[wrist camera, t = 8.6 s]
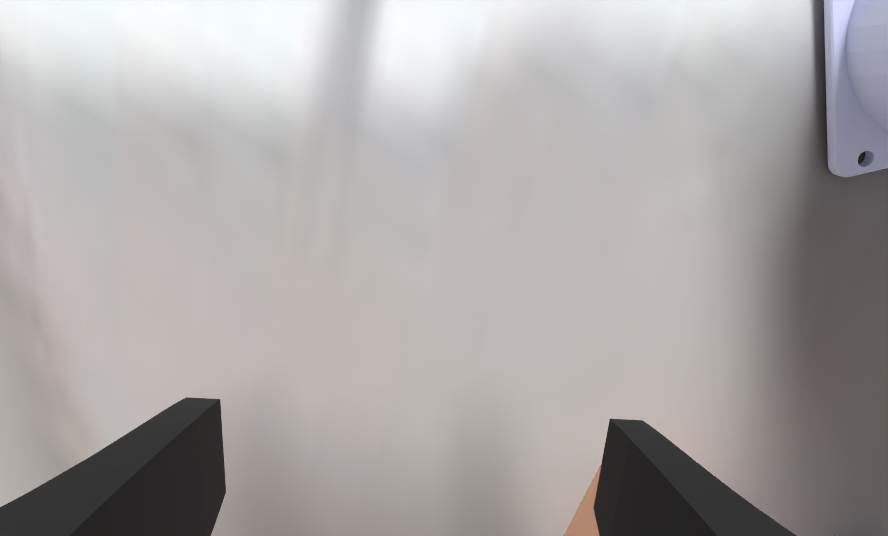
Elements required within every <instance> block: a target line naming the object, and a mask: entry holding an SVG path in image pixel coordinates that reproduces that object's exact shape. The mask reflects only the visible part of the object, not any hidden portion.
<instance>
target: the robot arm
mask: <svg viewBox="0 0 888 536" xmlns="http://www.w3.org/2000/svg"><path fill="white" fill-rule="evenodd" d="M824 25H825V65H826V105H827V145H828V167H829V170H830V171H831V172H832V173H833V174H835V175H837V176H841V177H852V176H856V175H860V174H865V173H869V172H873V171H877V170H882V169H886V168H888V0H824ZM864 151H865V154H866V156H865V159H864V161H863V162H862V163H860V164H858V157H859V155H860V154H861V153H862V152H864ZM225 493H226V487H225V471H224V455H223V439H222V422H221V406H220V399H204V398H185V399H183V400H181V401H179V402H177V403H176V404H174V405H172V406H171V407H169V408H167V409H166V410H164V411H162V412H161V413H159V414H158V415H156V416H154V417H153V418H151V419H150V420H148V421H147V422H145V423H143V424H142V425H140V426H139V427H137V428H136V429H134V430H133V431H131V432H129V433H128V434H126V435H125V436H123V437H121V438H120V439H118V440H117V441H115V442H113V443H112V444H110V445H109V446H107V447H105V448H104V449H102V450H101V451H99V452H97V453H96V454H94V455H93V456H91V457H89V458H88V459H86V460H84V461H82V462H81V463H79V464H77V465H75V466H74V467H72V468H70V469H68V470H67V471H65V472H63V473H62V474H60V475H58V476H56V477H55V478H53V479H51V480H49V481H48V482H46V483H44V484H42V485H41V486H39V487H37V488H35V489H34V490H32V491H30V492H29V493H27V494H25V495H23V496H21V497H19V498H17V499H16V500H14V501H12V502H10V503H8V504H6V505H4V506H2V507H0V536H211V533H212V530H213V528H214V525H215V522H216V519H217V516H218V514H219V511H220V508H221V505H222V502H223V499H224V496H225ZM593 509H594V513H595V518H596V522H597V527H598V531H599V536H796V535H795V534H793V533H792V532H790V531H789V530H787V529H786V528H784V527H783V526H782V525H780V524H779V523H777V522H776V521H774V520H773V519H772V518H770V517H769V516H767V515H766V514H764V513H763V512H762V511H760V510H759V509H757V508H756V507H754V506H753V505H752V504H750V503H749V502H748V501H746V500H745V499H744V498H742V497H741V496H740V495H738V494H737V493H736V492H734V491H733V490H732V489H730V488H729V487H728V486H726V485H725V484H724V483H722V482H721V481H720V480H719V479H717V478H716V477H715V476H713V475H712V474H711V473H710V472H708V471H707V470H706V469H705V468H703V467H702V466H701V465H699V464H698V463H697V462H696V461H694V460H693V459H692V458H691V457H689V456H688V455H687V454H686V453H684V452H683V451H682V450H681V449H679V448H678V447H677V446H676V445H674V444H673V443H672V442H671V441H669V440H668V439H667V438H666V437H664V436H663V435H662V434H660V433H659V432H658V431H656V430H655V429H654V428H652V427H651V426H650V425H648V424H647V423H645V422H644V421H642V420H623V419H610V422H609V427H608V432H607V438H606V443H605V448H604V454H603V459H602V465H601V470H600V475H599V481H598V486H597V491H596V497H595V502H594V508H593Z"/></svg>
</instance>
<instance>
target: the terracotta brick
mask: <svg viewBox="0 0 888 536" xmlns="http://www.w3.org/2000/svg"><path fill="white" fill-rule="evenodd" d="M600 470H601V465H600V467H599V469H598V471H597V473H596V475H595V477H594V479H593V481H592V483H591V485H590V487H589V489H588V490H587V492H586V494H585V496H584V498H583V500H582V502H581V504H580V506H579V508H578V510H577V512H576V514H575V516H574V517H573V519H572V521H571V523H570V525H569V527H568V529H567V531H566V533H565V535H564V536H599V531H598V527H597V522H596V518H595V513H594V509H593V508H594V502H595V497H596V491H597V486H598V481H599V475H600Z"/></svg>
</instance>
